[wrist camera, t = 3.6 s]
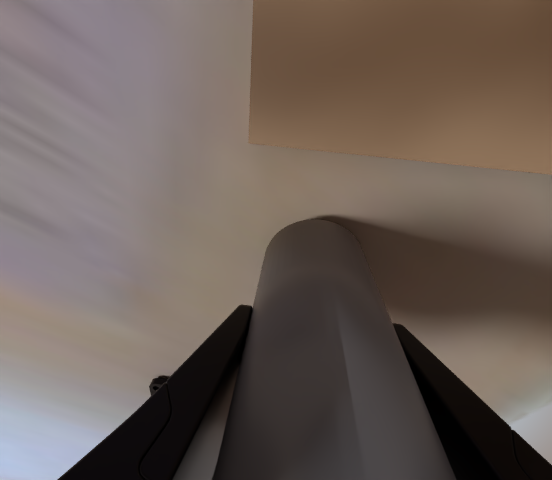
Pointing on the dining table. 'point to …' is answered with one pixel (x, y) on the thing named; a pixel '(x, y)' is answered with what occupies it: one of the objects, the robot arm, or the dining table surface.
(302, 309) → the grey rounded plug
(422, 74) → the tan square board
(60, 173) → the dining table surface
